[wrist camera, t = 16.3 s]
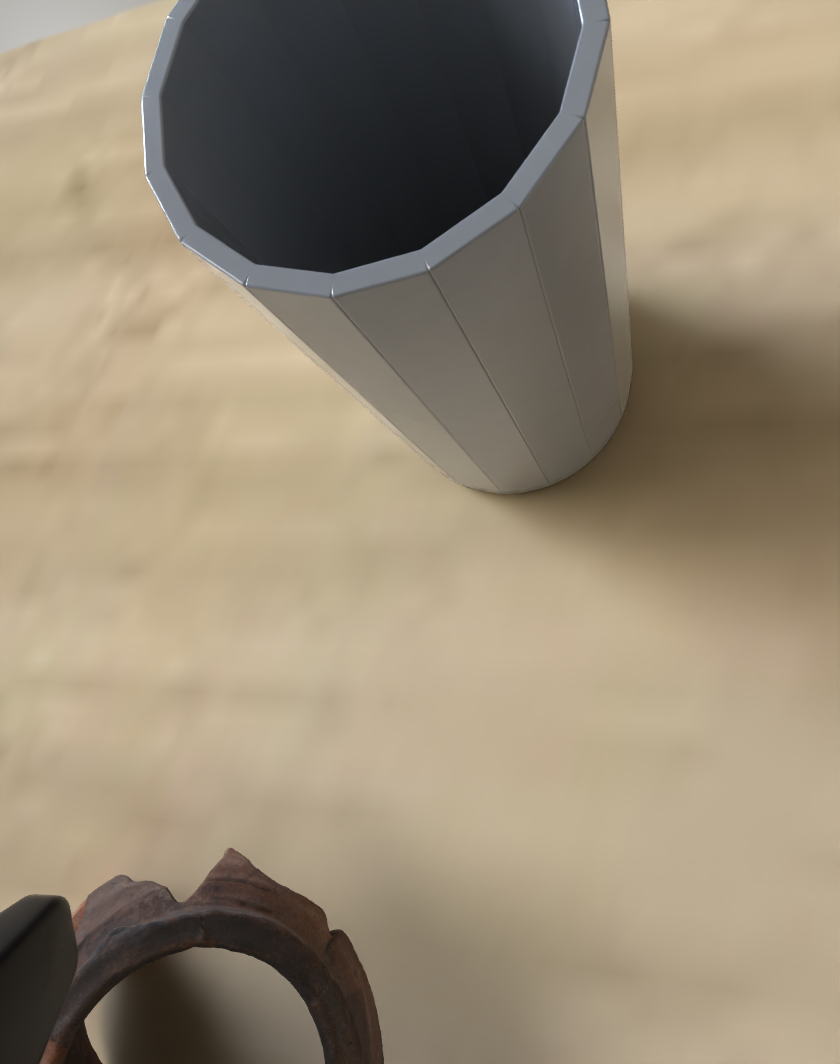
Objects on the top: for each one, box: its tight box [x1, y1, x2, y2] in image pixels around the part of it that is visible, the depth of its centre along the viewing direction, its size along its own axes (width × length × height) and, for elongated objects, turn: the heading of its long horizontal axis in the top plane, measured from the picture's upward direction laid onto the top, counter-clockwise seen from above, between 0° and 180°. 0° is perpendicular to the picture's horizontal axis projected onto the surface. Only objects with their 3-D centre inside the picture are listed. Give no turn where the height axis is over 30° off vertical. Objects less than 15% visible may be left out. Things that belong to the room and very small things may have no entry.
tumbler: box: [141, 0, 633, 494], centre depth 16 cm, size 7×7×12 cm
